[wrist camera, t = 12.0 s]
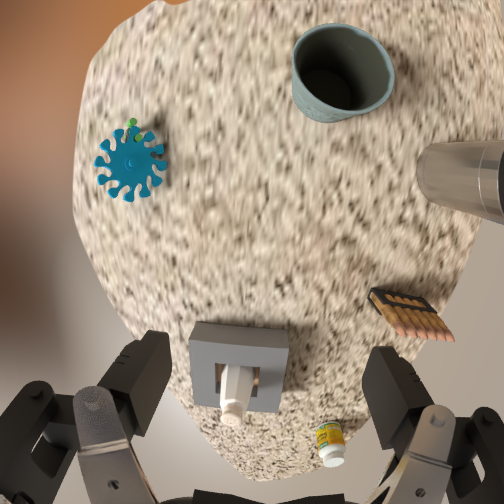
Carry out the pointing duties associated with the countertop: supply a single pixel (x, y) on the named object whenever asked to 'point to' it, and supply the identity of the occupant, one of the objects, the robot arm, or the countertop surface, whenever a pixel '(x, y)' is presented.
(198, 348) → the frame
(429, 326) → the ammunition clip
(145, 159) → the blue t-shaped piece
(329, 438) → the supplement bottle
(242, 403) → the pepper shaker
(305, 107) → the blue cup
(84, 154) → the countertop surface
